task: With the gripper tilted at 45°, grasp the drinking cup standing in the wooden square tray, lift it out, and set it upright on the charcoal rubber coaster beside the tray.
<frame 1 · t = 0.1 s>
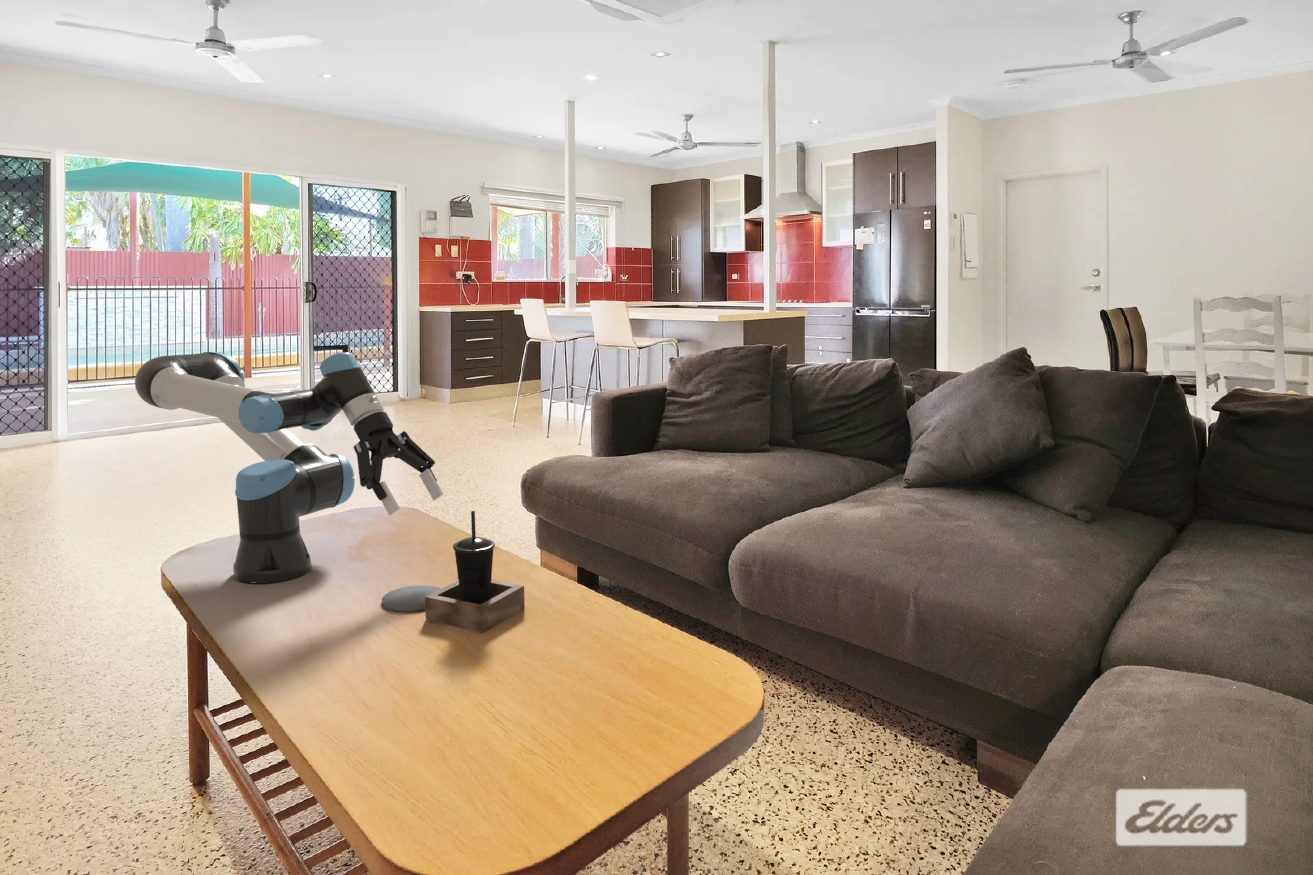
hand: (417, 504, 174), 15 cm above the table, tool tilted 35°, fingers open, 13 cm apart
coaster: (414, 600, 163), on the table
drinking cup: (476, 614, 156), resting in wooden square tray
wooden square tray: (476, 613, 156), on the table
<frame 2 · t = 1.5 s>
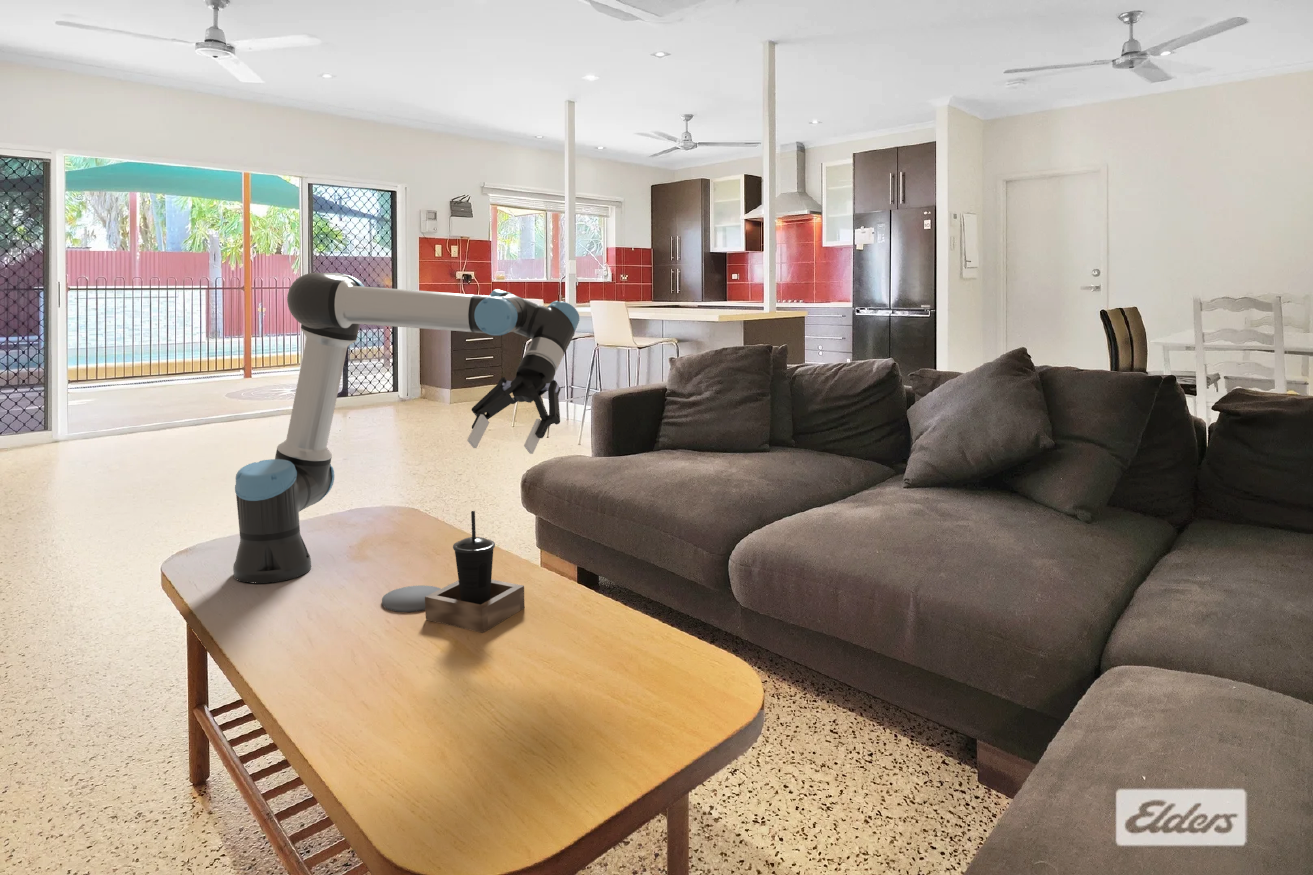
hand: (499, 447, 163), 30 cm above the table, tool tilted 45°, fingers open, 13 cm apart
nothing on the table moved.
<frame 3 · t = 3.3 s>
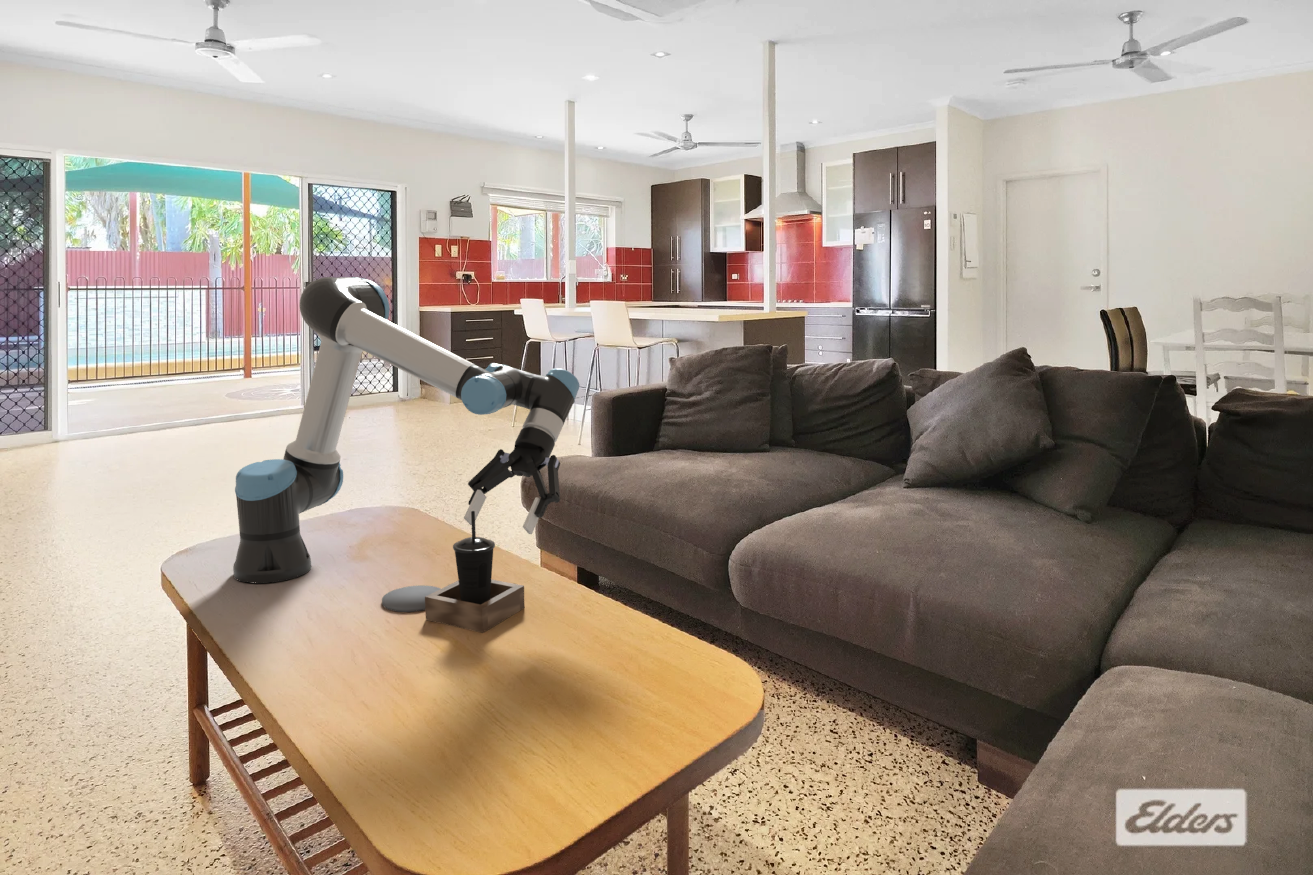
hand: (497, 526, 158), 16 cm above the table, tool tilted 45°, fingers open, 13 cm apart
nothing on the table moved.
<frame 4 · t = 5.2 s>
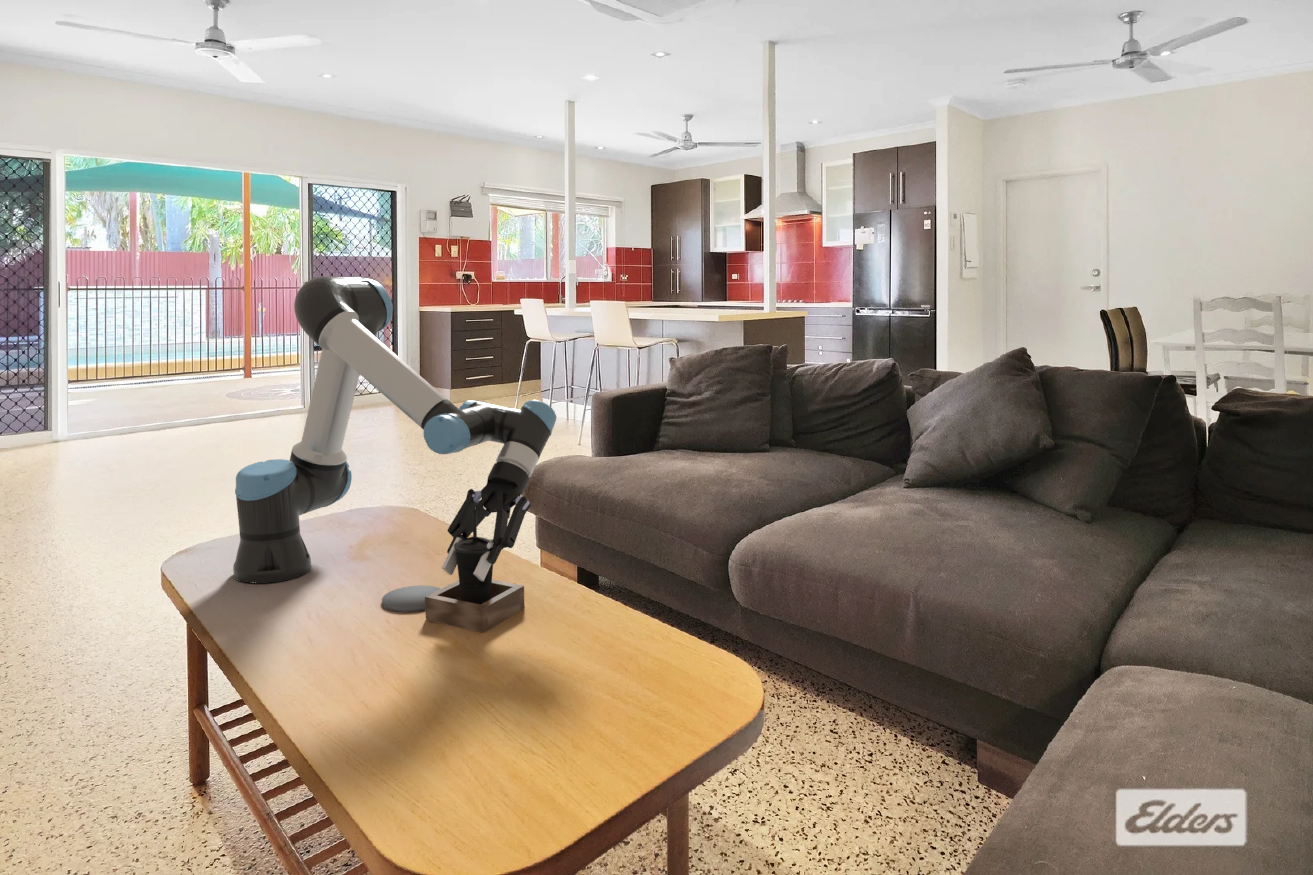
hand: (462, 574, 151), 9 cm above the table, tool tilted 45°, fingers closed on drinking cup, 6 cm apart
drinking cup: (476, 614, 156), resting in wooden square tray, touching gripper
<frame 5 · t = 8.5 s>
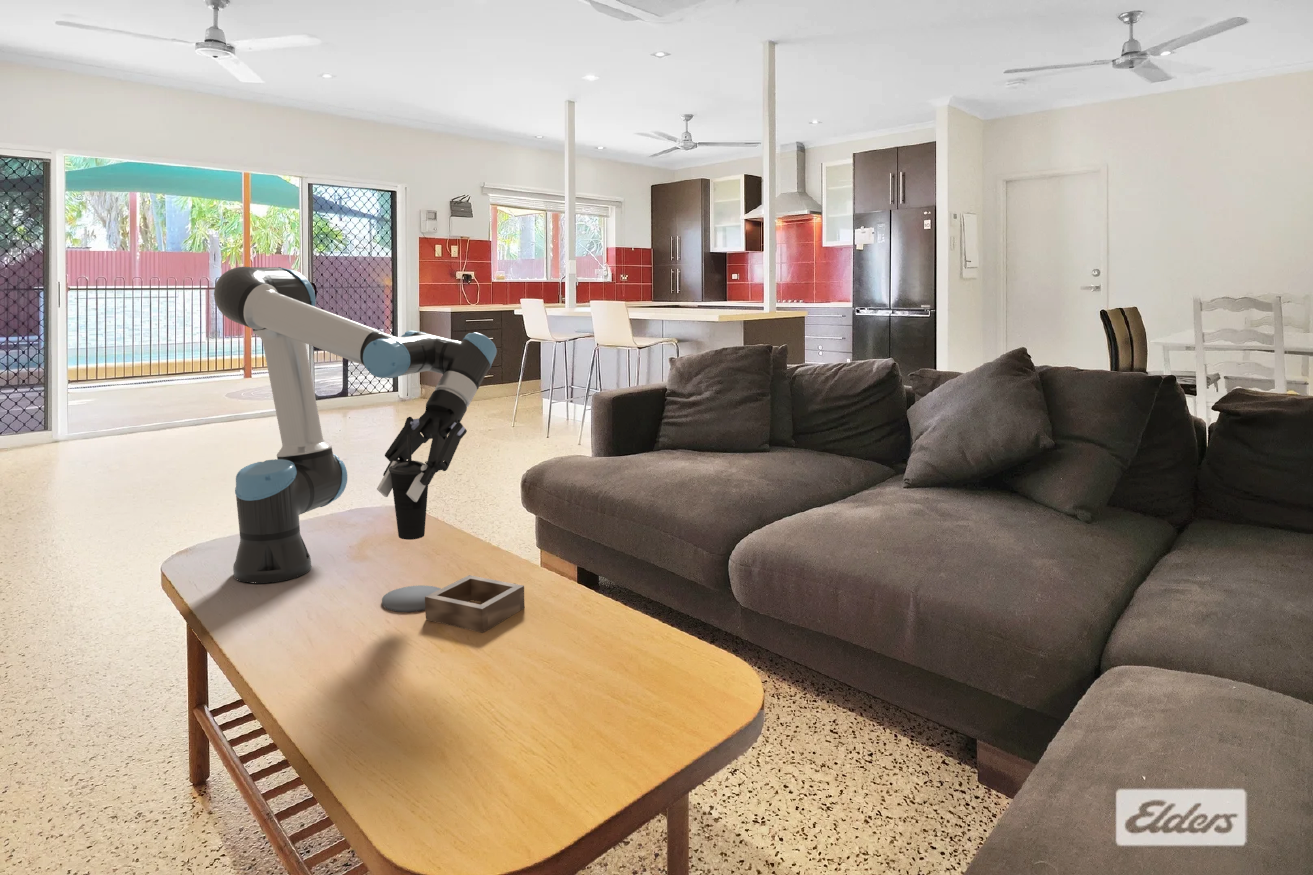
hand: (396, 495, 155), 22 cm above the table, tool tilted 45°, fingers closed on drinking cup, 6 cm apart
drinking cup: (411, 536, 160), point 13 cm above the table, touching gripper
when the fingers open (11 cm above the table, at t = 11.6 s): drinking cup drops 1 cm, resting on coaster.
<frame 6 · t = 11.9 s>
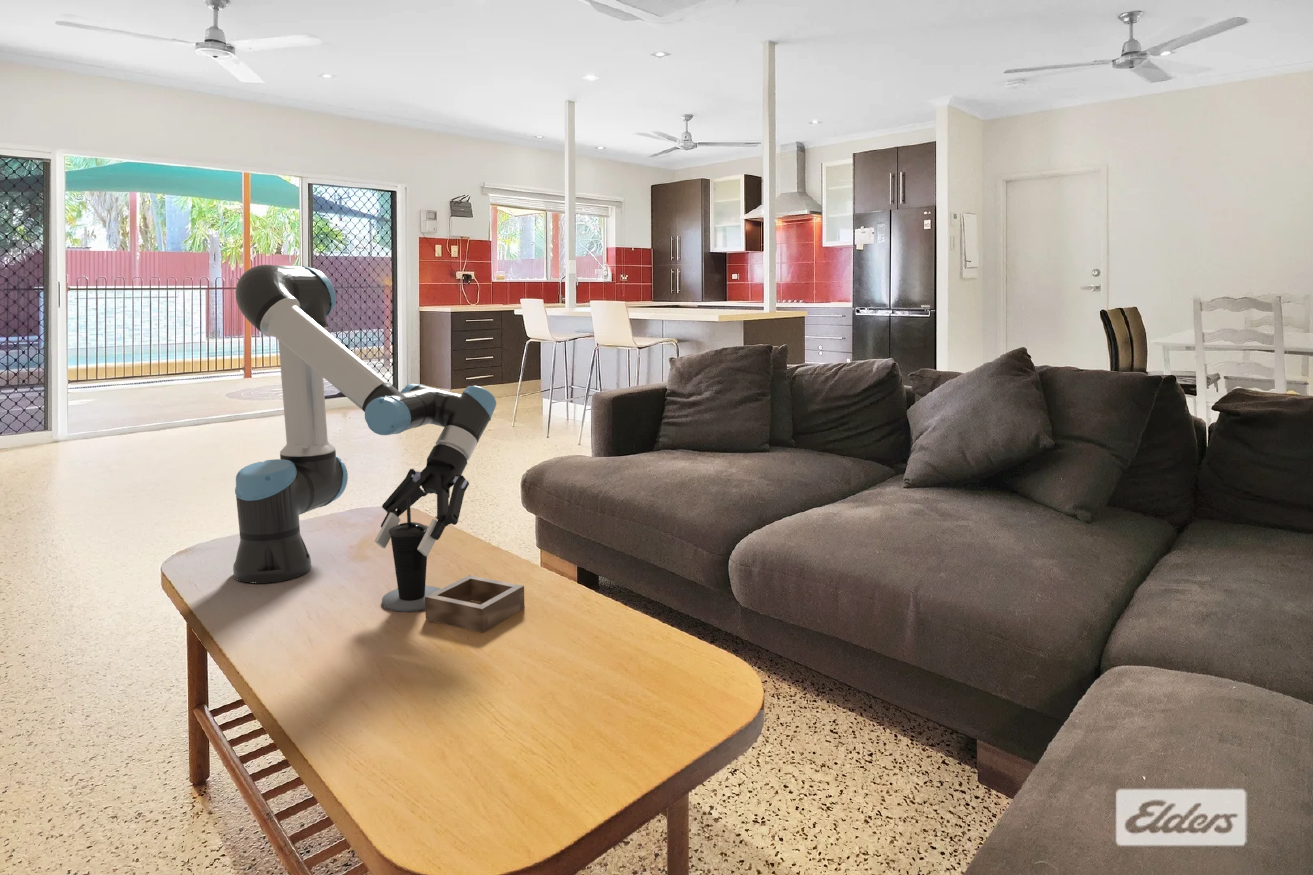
hand: (400, 548, 158), 11 cm above the table, tool tilted 45°, fingers open, 10 cm apart
drinking cup: (412, 597, 162), point 1 cm above the table, touching coaster
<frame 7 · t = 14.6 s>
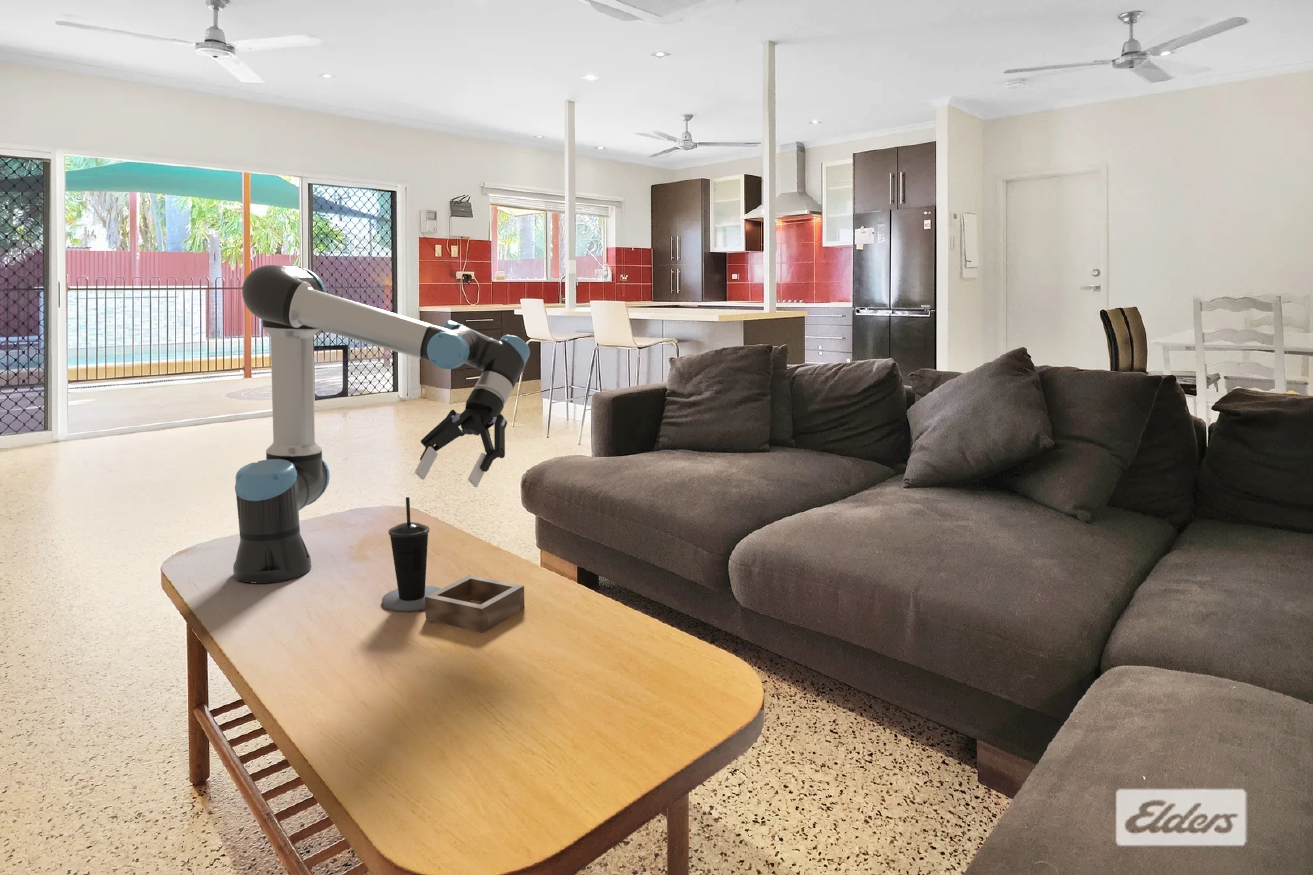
hand: (445, 479, 168), 22 cm above the table, tool tilted 45°, fingers open, 13 cm apart
nothing on the table moved.
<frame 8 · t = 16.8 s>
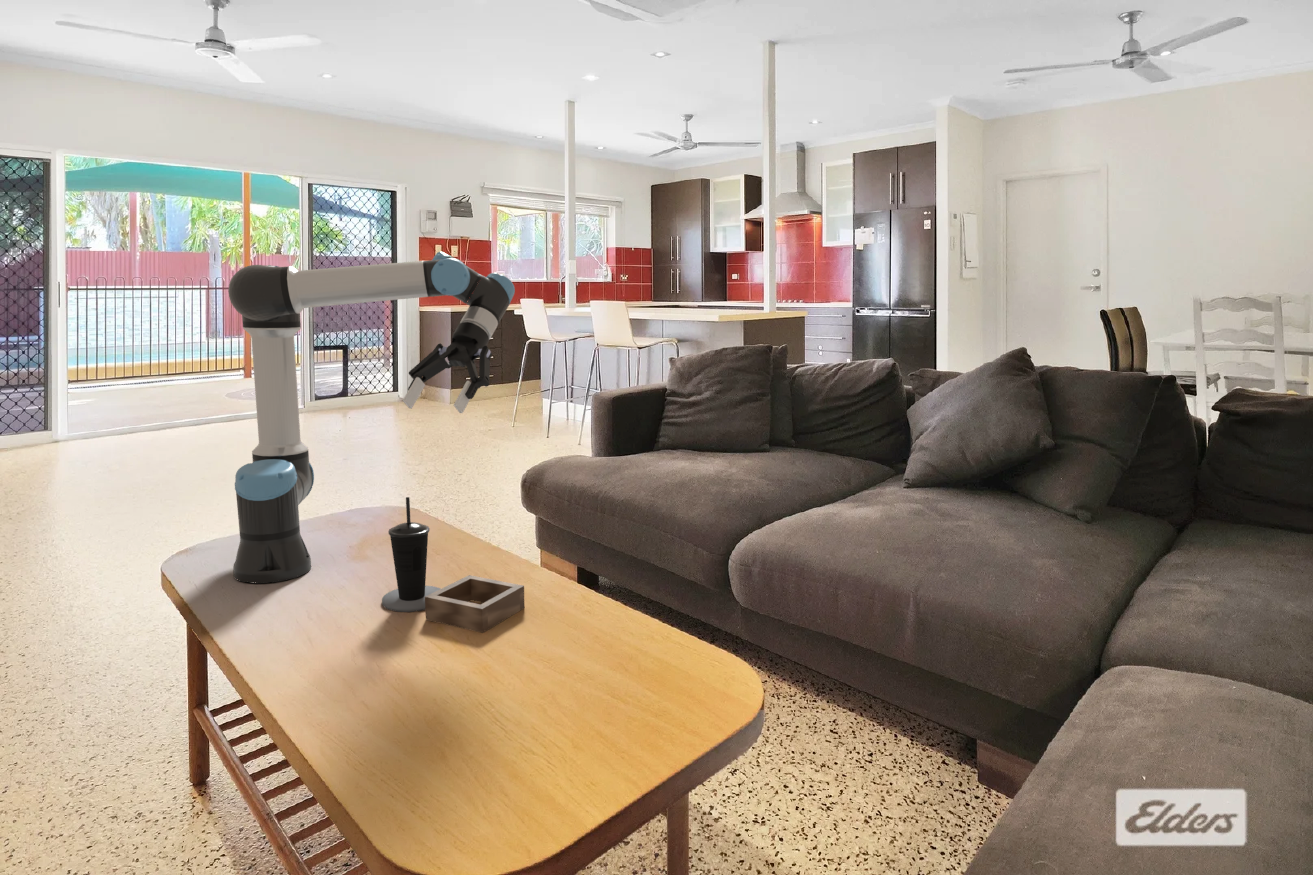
hand: (432, 407, 174), 36 cm above the table, tool tilted 45°, fingers open, 13 cm apart
nothing on the table moved.
at the end: drinking cup inside the target area (0.4 cm from its centre), point 0.6 cm above the table; drinking cup tilted 0°; the gripper is holding nothing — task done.
